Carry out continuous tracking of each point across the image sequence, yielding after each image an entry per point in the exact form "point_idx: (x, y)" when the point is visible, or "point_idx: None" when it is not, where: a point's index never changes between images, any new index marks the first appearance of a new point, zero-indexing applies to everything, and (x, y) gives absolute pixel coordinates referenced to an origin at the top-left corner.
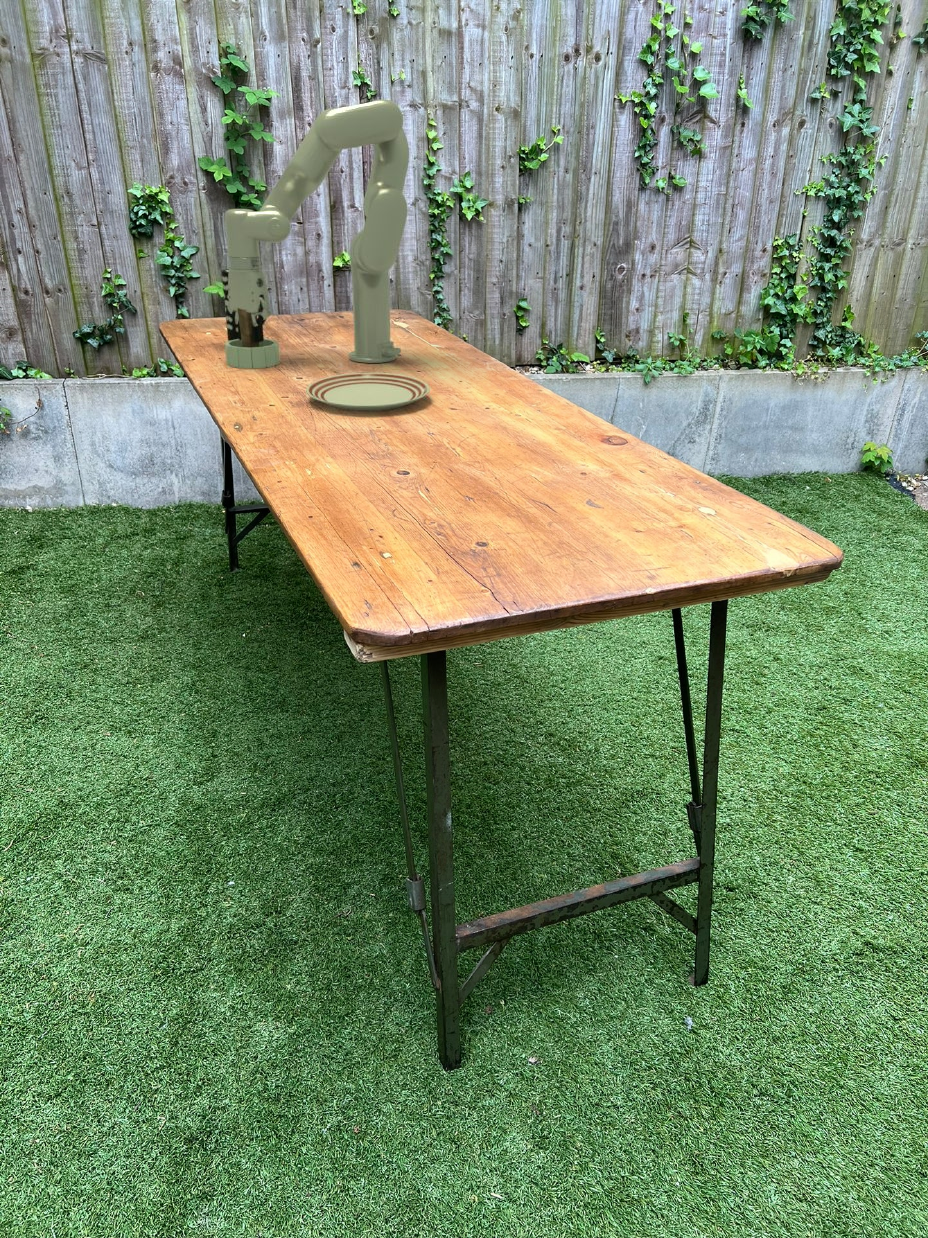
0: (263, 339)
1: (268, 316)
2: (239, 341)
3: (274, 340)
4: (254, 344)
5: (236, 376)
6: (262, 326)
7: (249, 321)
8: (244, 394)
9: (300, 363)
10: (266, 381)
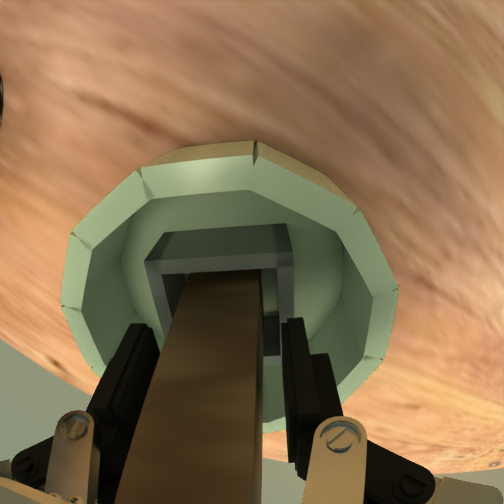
0: (303, 322)
1: (470, 485)
2: (90, 315)
3: (263, 164)
4: (260, 344)
5: (353, 414)
6: (318, 401)
7: (259, 496)
8: (455, 441)
9: (419, 120)
10: (456, 384)
